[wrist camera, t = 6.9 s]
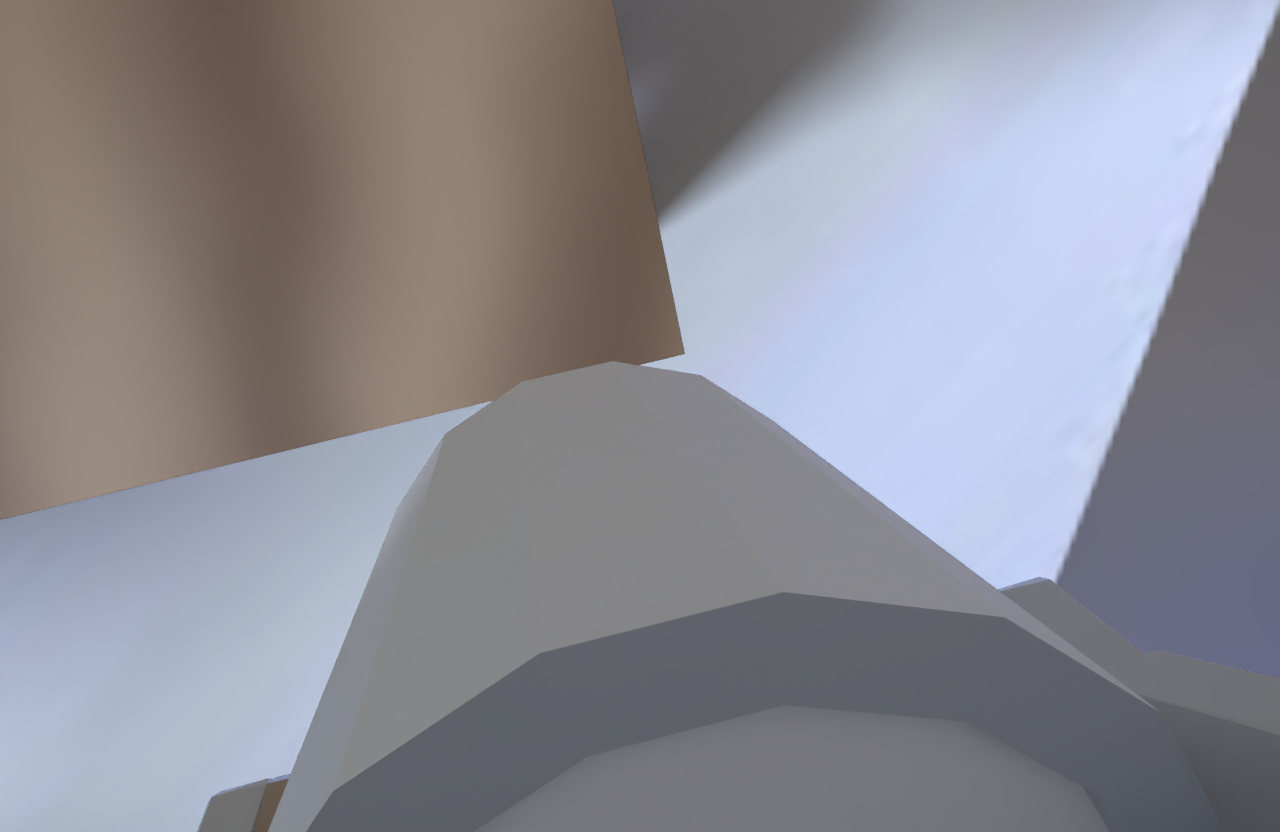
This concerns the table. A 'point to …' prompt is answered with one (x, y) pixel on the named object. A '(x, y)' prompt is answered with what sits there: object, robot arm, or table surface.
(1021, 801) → the white cup
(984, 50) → the table surface
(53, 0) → the wooden stool
